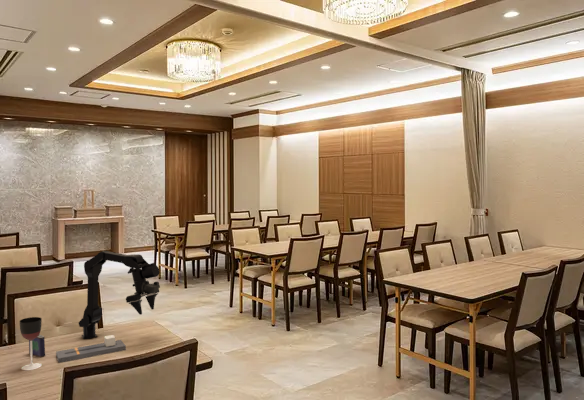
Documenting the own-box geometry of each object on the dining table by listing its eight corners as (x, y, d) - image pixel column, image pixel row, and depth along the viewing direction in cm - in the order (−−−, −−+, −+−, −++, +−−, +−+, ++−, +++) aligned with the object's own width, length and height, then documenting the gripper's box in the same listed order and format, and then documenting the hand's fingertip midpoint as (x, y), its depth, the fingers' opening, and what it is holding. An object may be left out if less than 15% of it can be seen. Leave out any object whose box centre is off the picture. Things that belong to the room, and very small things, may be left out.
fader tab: (104, 344, 212) (104, 336, 212) (113, 342, 215) (113, 334, 214) (106, 346, 209) (106, 339, 209) (115, 345, 211) (115, 337, 211)
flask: (27, 354, 206) (27, 331, 206) (33, 352, 208) (33, 329, 208) (41, 357, 202) (41, 334, 202) (47, 355, 205) (47, 332, 204)
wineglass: (26, 372, 186) (25, 324, 185) (17, 367, 191) (15, 320, 191) (46, 366, 192) (45, 319, 192) (36, 361, 198) (35, 316, 197)
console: (56, 355, 204) (56, 351, 204) (120, 343, 219) (120, 339, 219) (58, 363, 196) (58, 358, 195) (125, 349, 211) (125, 345, 211)
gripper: (141, 281, 209) (148, 314, 208) (164, 273, 226) (171, 304, 226) (121, 285, 212) (129, 318, 211) (146, 277, 230) (153, 308, 229)
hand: (146, 311), depth 219 cm, fingers open, 9 cm apart
